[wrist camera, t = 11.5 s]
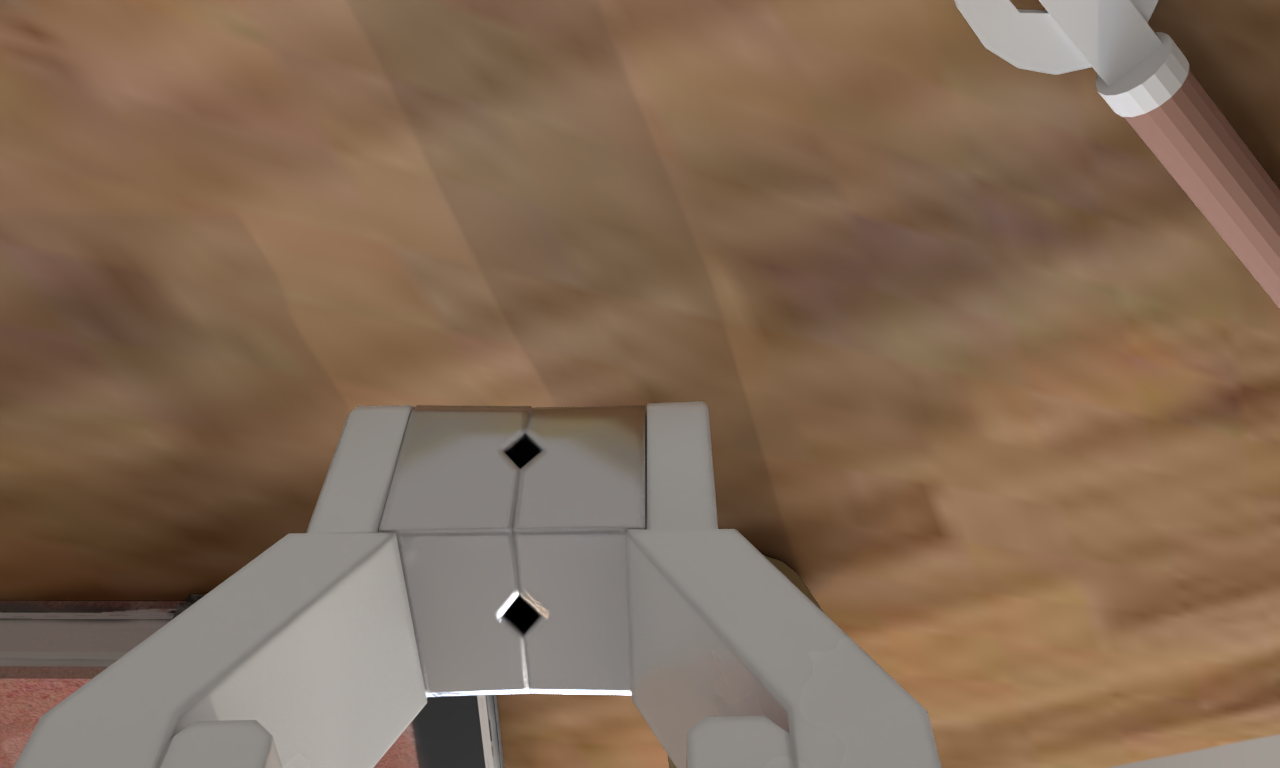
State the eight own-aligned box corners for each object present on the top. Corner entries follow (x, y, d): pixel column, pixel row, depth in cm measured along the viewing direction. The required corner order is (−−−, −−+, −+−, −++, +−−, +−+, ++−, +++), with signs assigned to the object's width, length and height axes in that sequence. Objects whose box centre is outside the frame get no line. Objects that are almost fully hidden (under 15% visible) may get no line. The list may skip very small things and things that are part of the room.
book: (485, 591, 52) (472, 678, 48) (509, 817, 62) (500, 904, 58) (-87, 589, 52) (-150, 675, 48) (30, 815, 62) (-13, 902, 58)
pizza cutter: (1374, 225, 42) (1422, 268, 39) (1224, 324, 44) (1260, 370, 42) (1069, -205, 33) (1106, -184, 30) (903, -51, 35) (925, -20, 33)
